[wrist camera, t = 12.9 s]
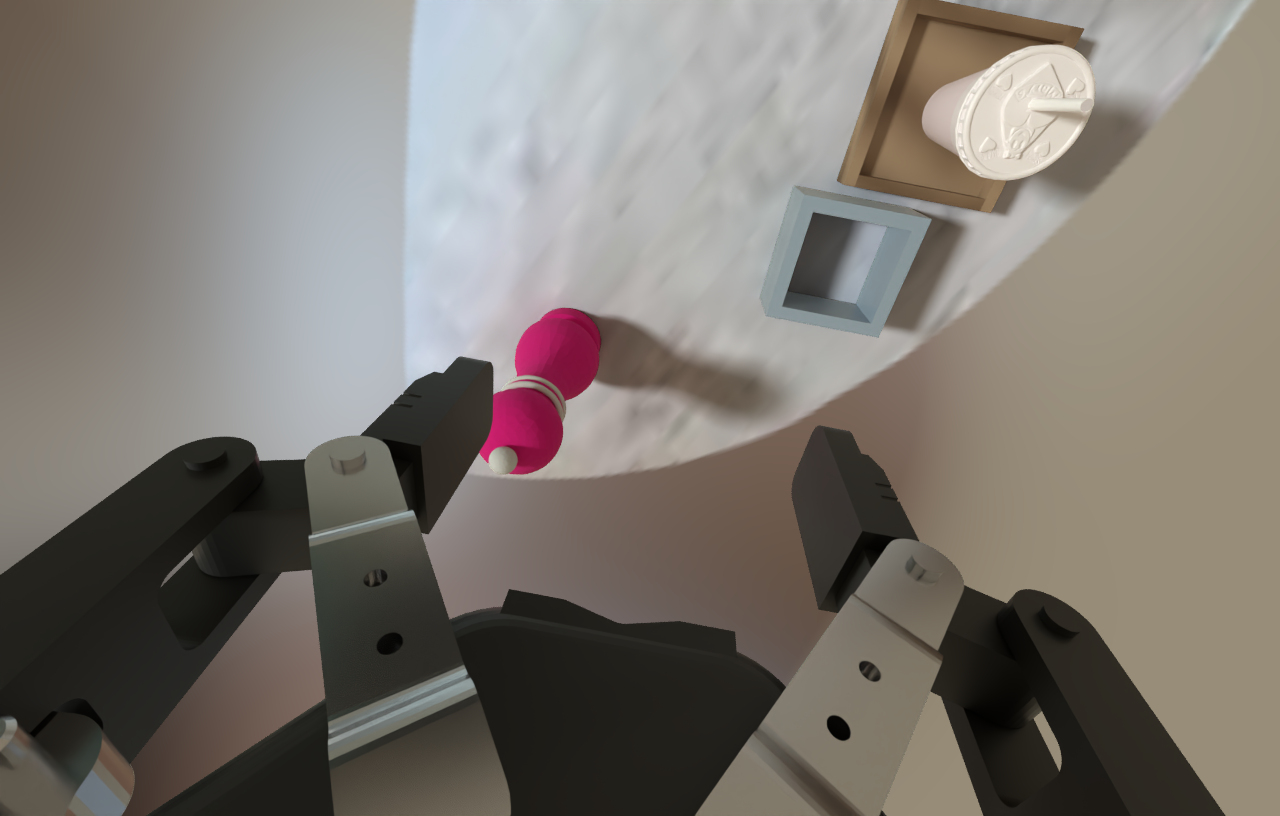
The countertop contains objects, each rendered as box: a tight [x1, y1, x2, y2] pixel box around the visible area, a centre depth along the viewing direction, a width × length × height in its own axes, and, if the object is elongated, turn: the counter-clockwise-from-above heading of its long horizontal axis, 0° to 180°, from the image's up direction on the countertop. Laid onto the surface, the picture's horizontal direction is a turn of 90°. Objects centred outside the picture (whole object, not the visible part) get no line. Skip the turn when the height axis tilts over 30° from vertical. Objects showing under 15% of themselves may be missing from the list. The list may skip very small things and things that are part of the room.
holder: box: [760, 186, 932, 337], centre depth 40 cm, size 9×9×4 cm
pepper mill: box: [479, 308, 601, 474], centre depth 40 cm, size 7×7×20 cm
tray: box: [837, 0, 1084, 213], centre depth 35 cm, size 11×11×2 cm
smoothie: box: [922, 45, 1096, 180], centre depth 29 cm, size 6×6×14 cm
